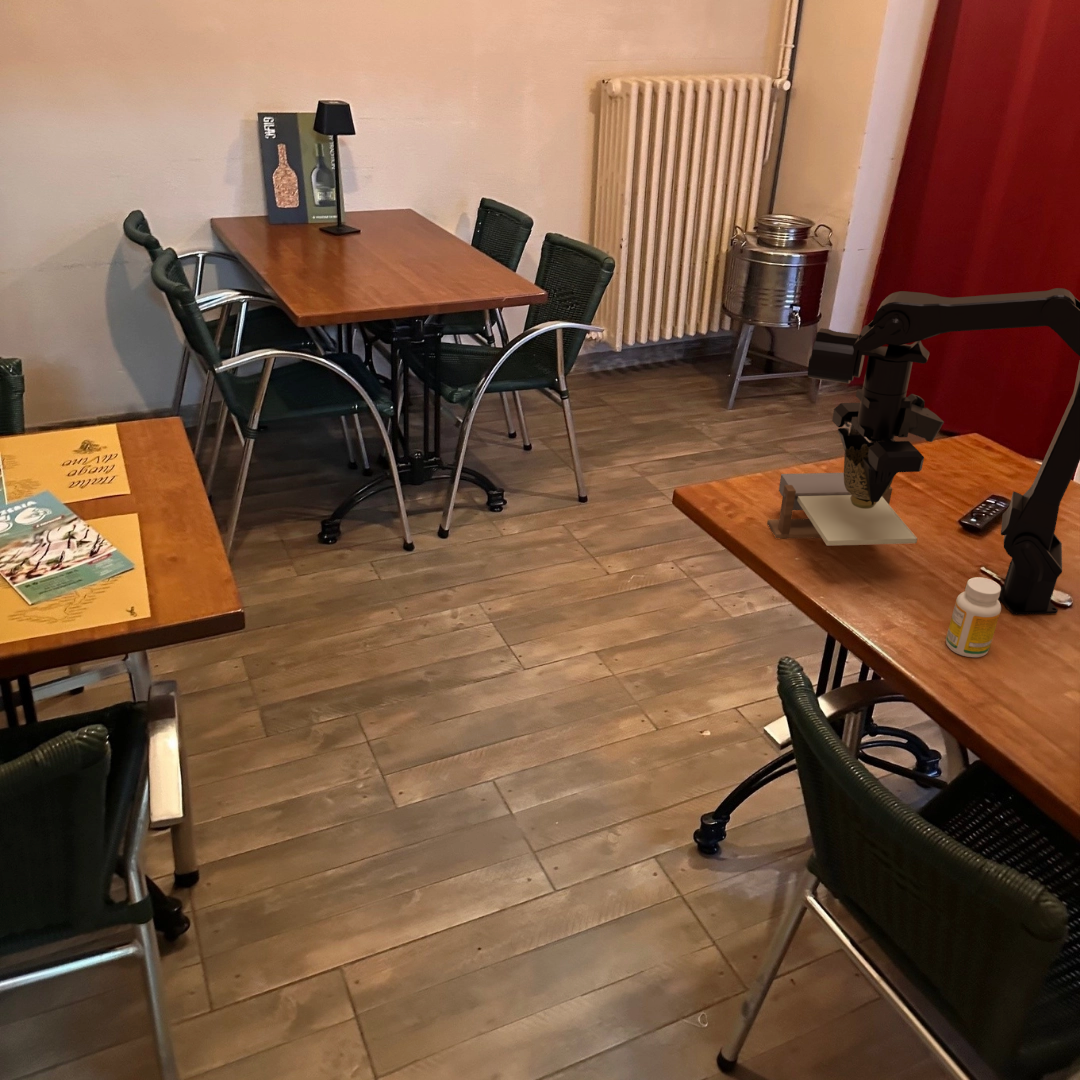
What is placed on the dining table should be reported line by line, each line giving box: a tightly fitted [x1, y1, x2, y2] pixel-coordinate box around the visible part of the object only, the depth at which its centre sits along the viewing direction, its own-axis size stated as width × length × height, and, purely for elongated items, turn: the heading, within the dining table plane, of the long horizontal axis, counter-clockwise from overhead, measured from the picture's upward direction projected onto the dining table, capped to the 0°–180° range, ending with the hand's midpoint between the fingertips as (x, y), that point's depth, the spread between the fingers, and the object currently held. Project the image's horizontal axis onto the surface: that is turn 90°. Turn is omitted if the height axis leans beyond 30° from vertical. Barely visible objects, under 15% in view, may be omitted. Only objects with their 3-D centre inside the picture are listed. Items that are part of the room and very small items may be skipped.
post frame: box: [766, 485, 893, 540], centre depth 155 cm, size 5×18×8 cm, turn 94°
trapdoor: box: [778, 472, 918, 546], centre depth 150 cm, size 23×13×3 cm, turn 4°
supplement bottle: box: [945, 576, 1002, 658], centre depth 127 cm, size 5×5×10 cm
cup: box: [843, 444, 895, 509], centre depth 140 cm, size 8×7×8 cm
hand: (865, 491), depth 141 cm, fingers closed on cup, 6 cm apart
